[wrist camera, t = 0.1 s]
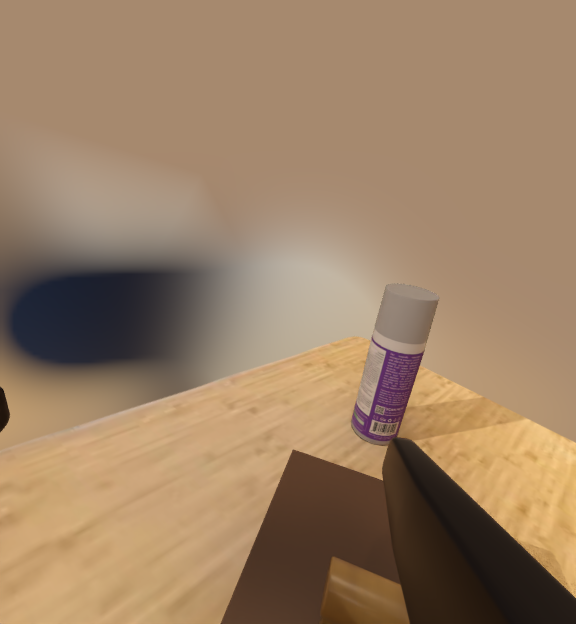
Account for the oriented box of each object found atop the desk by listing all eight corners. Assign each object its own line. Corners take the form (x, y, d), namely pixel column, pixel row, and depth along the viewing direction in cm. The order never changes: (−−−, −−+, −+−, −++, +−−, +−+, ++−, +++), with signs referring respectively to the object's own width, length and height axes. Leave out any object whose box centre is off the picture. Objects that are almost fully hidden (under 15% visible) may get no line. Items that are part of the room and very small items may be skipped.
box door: (771, 1504, 4) (1202, 1804, 2) (105, 917, 7) (77, 855, 5) (489, 529, 17) (525, 461, 15) (291, 458, 20) (302, 394, 18)
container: (402, 426, 33) (445, 293, 28) (388, 453, 29) (435, 305, 24) (360, 407, 35) (393, 280, 30) (343, 429, 32) (376, 289, 26)
